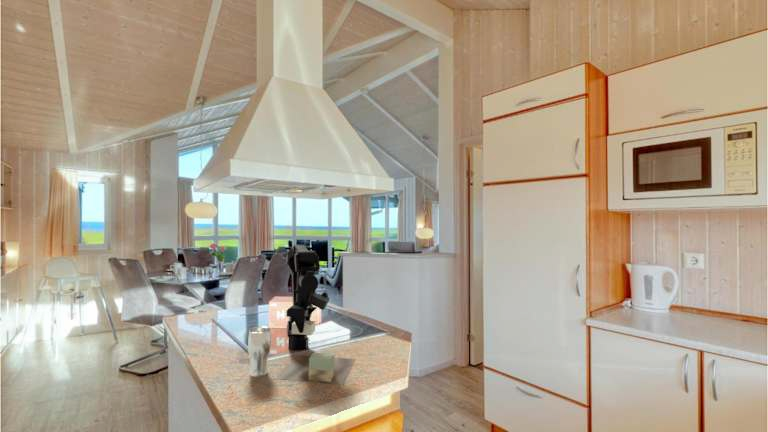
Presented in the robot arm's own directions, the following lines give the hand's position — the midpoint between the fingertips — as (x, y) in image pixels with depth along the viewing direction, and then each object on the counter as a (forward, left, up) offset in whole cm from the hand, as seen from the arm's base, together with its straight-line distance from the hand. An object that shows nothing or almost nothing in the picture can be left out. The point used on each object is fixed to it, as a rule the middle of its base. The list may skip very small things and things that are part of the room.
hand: (303, 330), depth 125 cm
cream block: (0, 0, -1) cm, 1 cm away
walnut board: (+7, -4, -12) cm, 14 cm away
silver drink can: (-11, -11, -12) cm, 20 cm away
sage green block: (+10, -11, -7) cm, 17 cm away
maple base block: (+10, -11, -11) cm, 18 cm away
